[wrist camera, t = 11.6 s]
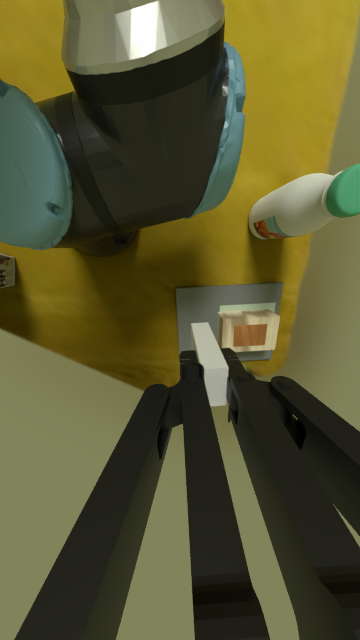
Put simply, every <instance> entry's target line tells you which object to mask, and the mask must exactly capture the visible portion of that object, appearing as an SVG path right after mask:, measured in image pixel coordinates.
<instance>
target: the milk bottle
mask: <svg viewBox="0 0 360 640" xmlns="http://www.w3.org/2000/svg"><path fill="white" fill-rule="evenodd" d="M358 214H360V163H359V164H356V165H354V166H352V167H349V168H347V169H345V170H343V171H341V172H339V173H337V174H336V175H335V176H332V175H328V174H324V173H314V174H308V175H305V176H302V177H300V178H297V179H295V180H293V181H291V182H289V183H287V184H286V185H284V186H282V187H280V188H278V189H277V190H275V191H273V192H271V193H269V194H268V195H266V196H264V197H262V198H261V199H259V200H258V201H257V202H256V203H255V204H254V206H253V207H252V209H251V211H250V214H249V228H250V230H251V232H252V233H253V235H254V236H256V237H257V238H260V239H277V238H287V237H296V236H302V235H306V234H309V233H312V232H314V231H316V230H318V229H319V228H321V227H323V226H324V225H325V224H326V223H328V222H329V221H330V220H331V219H333V218H335V219H338V218H344V217H350V216H354V215H358Z"/></svg>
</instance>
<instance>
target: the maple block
mask: <svg viewBox="0 0 360 640" xmlns="http://www.w3.org/2000/svg"><path fill="white" fill-rule="evenodd" d="M279 320H280V316H278V315H277V314H275V313H274V312H272V311H271V310H269V309H262V310H245V311H227V312H218V319H217V343H218V346H219V348H231V349H232V350H233V351H234V352H245V351H262V350H275V344H276V338H277V332H278V326H279Z"/></svg>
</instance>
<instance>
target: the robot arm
mask: <svg viewBox="0 0 360 640" xmlns="http://www.w3.org/2000/svg"><path fill="white" fill-rule="evenodd" d="M63 5H64V27H63V38H62V49H61V58H62V61H63V63H64V65H65V68H66V70H67V72H68V75H69V77H70V79H71V82H72V84H73V86H74V89H75V91H72V92H70V93H67V94H64V95H60V96H57V97H53V98H50V99H46V100H43V101H39V102H36V103H34V102H33V101H32V99H31V98H29V97H28V96H27V95H26V94H25V93H24V92H23V91H21V90H20V89H18V88H17V87H15V86H12V85H10V84H8V83H6V82H4V81H2V80H1V79H0V241H2V242H4V243H7V244H10V245H14V246H18V247H27V248H31V249H34V250H38V249H39V250H45V249H49V248H76V249H77V250H79V251H81V252H83V253H85V254H88V255H91V256H95V257H108V256H113V255H116V254H119V253H121V252H122V251H124V250H125V249H126V248H127V247H128V246H129V245H130V244H131V243H132V241H133V239H134V237H135V235H136V232H137V229H141V228H145V227H149V226H153V225H157V224H161V223H165V222H169V221H173V220H177V219H181V218H186V219H188V218H192V217H193V216H195V215H196V214H199V213H202V212H205V211H209V210H212V209H214V208H215V207H217V206H218V205H220V203H222V202H223V200H224V199H225V198H226V196H227V194H228V193H229V191H230V188H231V186H232V184H233V181H234V178H235V175H236V171H237V167H238V163H239V159H240V154H241V149H242V142H243V135H244V125H245V115H244V114H243V113H242V109H243V104H244V100H245V96H246V92H245V75H244V69H243V64H242V60H241V57H240V55H239V53H238V51H237V50H236V49H235V48H234V47H233V46H230V45H229V44H228V43H227V42H224V26H225V6H224V4H223V2H222V1H221V0H63ZM191 339H192V350H189V351H182V352H181V353H180V355H179V356H180V377H181V378H180V381H179V382H178V383H177V384H176V385H175V386H172V387H169V388H167V387H166V386H165V385H163V384H154V385H151V386H149V387H148V388H147V389H146V390H145V391H144V393H143V395H142V397H141V399H140V401H139V403H138V405H137V407H136V409H135V410H134V412H133V414H132V416H131V418H130V420H129V422H128V424H127V426H126V428H125V430H124V432H123V433H122V435H121V437H120V439H119V441H118V443H117V445H116V447H115V449H114V451H113V452H112V455H111V456H110V458H109V460H108V462H107V464H106V466H105V468H104V470H103V472H102V473H101V476H100V477H99V479H98V481H97V483H96V485H95V487H94V489H93V491H92V493H91V495H90V497H89V498H88V500H87V502H86V504H85V506H84V508H83V510H82V512H81V514H80V515H79V517H78V519H77V521H76V523H75V525H74V527H73V529H72V531H71V533H70V535H69V537H68V538H67V540H66V542H65V544H64V546H63V548H62V550H61V552H60V554H59V556H58V558H57V559H56V561H55V563H54V565H53V567H52V569H51V571H50V573H49V575H48V577H47V578H46V580H45V582H44V584H43V586H42V588H41V590H40V592H39V594H38V596H37V598H36V600H35V601H34V603H33V605H32V607H31V609H30V611H29V613H28V615H27V617H26V619H25V620H24V622H23V624H22V626H21V629H20V630H19V632H18V634H17V636H16V638H15V639H14V640H116V636H117V633H118V629H119V625H120V622H121V618H122V614H123V610H124V607H125V603H126V599H127V595H128V592H129V588H130V584H131V580H132V577H133V573H134V569H135V566H136V562H137V558H138V554H139V550H140V547H141V543H142V539H143V536H144V532H145V528H146V525H147V521H148V517H149V513H150V509H151V506H152V502H153V498H154V495H155V491H156V487H157V483H158V479H159V476H160V472H161V468H162V464H163V461H164V457H165V454H166V450H167V446H168V442H169V438H170V435H171V431H172V428H173V427H175V426H178V425H180V424H183V430H184V448H185V467H186V485H187V502H188V521H189V539H190V557H191V576H192V594H193V612H194V630H195V640H270V637H269V633H268V630H267V626H266V623H265V619H264V615H263V612H262V609H261V605H260V603H259V600H258V598H257V596H256V593H255V591H254V589H253V586H252V583H251V579H250V575H249V572H248V567H247V563H246V559H245V555H244V550H243V546H242V541H241V537H240V533H239V529H238V524H237V520H236V516H235V511H234V507H233V502H232V498H231V494H230V490H229V485H228V481H227V477H226V472H225V468H224V464H223V460H222V455H221V451H220V446H219V442H218V438H217V434H216V429H215V425H214V421H213V416H212V412H211V408H210V406H222V405H226V403H227V400H228V403H229V412H228V422H230V418H231V421H232V424H233V427H234V430H235V433H236V436H237V439H238V442H239V445H240V448H241V451H242V454H243V457H244V460H245V463H246V466H247V469H248V472H249V476H250V478H251V482H252V484H253V488H254V491H255V494H256V496H257V500H258V503H259V506H260V509H261V512H262V515H263V518H264V521H265V524H266V527H267V530H268V533H269V536H270V539H271V542H272V545H273V549H274V551H275V555H276V558H277V561H278V564H279V567H280V570H281V573H282V576H283V579H284V582H285V585H286V588H287V591H288V594H289V597H290V600H291V603H292V606H293V610H294V613H295V616H296V621H297V625H298V631H299V639H300V640H360V547H359V545H358V544H357V542H356V541H355V539H354V537H353V536H352V534H351V533H350V531H349V529H348V528H347V526H346V524H345V523H344V521H343V519H342V518H341V516H340V515H339V513H338V511H337V510H336V508H337V509H338V510H339V511H340V513H341V514H342V515H343V516H344V518H345V519H346V520H347V521H348V523H349V524H350V525H351V526H352V527H353V529H354V530H355V531H356V532H357V534H358V535H359V536H360V432H359V431H358V430H356V429H355V428H354V427H353V426H351V425H350V424H349V423H348V422H346V421H345V420H344V419H342V418H341V417H340V416H339V415H337V414H336V413H335V412H334V411H332V410H331V409H329V408H328V407H327V406H326V405H325V404H323V403H322V402H321V401H319V400H318V399H317V398H315V397H314V396H313V395H312V394H310V393H309V392H308V391H307V390H305V389H304V388H303V387H301V386H300V385H299V384H298V383H296V382H295V381H294V380H292V379H290V378H287V377H284V376H275V377H273V378H272V379H271V382H265V381H260V380H257V379H256V378H255V377H254V376H253V375H252V374H251V373H249V372H247V371H245V369H244V367H243V365H242V364H241V362H240V360H239V358H238V357H237V355H236V353H235V352H234V351H233V350H232V349H231V348H219V346H218V343H217V341H216V339H215V337H214V335H213V332H212V330H211V328H210V326H209V323H208V322H205V323H191ZM293 415H294V416H295V417H296V418H297V419H298V420H297V419H296V418H295V417H294V416H293ZM333 504H334V505H335V507H336V508H335V507H334V505H333Z"/></svg>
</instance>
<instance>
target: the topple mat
mask: <svg viewBox="0 0 360 640" xmlns="http://www.w3.org/2000/svg"><path fill="white" fill-rule="evenodd" d="M282 287H283V283H282V282H278V283H259V284H241V285H223V286H205V287H187V288H176V304H177V321H178V339H179V355H180V353H181V352H182V351H189V350H192V339H191V323H205V322H208V323H209V326H210V328H211V330H212V332H213V335H214V337H215V339H216V341H217V319H218V312H227V311H245V310H262V309H269V310H271V311H272V312H274V313H275V314H277V315H278V312H279V305H280V299H281V293H282ZM235 353H236V355H237V357H238V358H239V360H240V361H247V360H264V359H271V356H272V350H262V351H245V352H235Z"/></svg>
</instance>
